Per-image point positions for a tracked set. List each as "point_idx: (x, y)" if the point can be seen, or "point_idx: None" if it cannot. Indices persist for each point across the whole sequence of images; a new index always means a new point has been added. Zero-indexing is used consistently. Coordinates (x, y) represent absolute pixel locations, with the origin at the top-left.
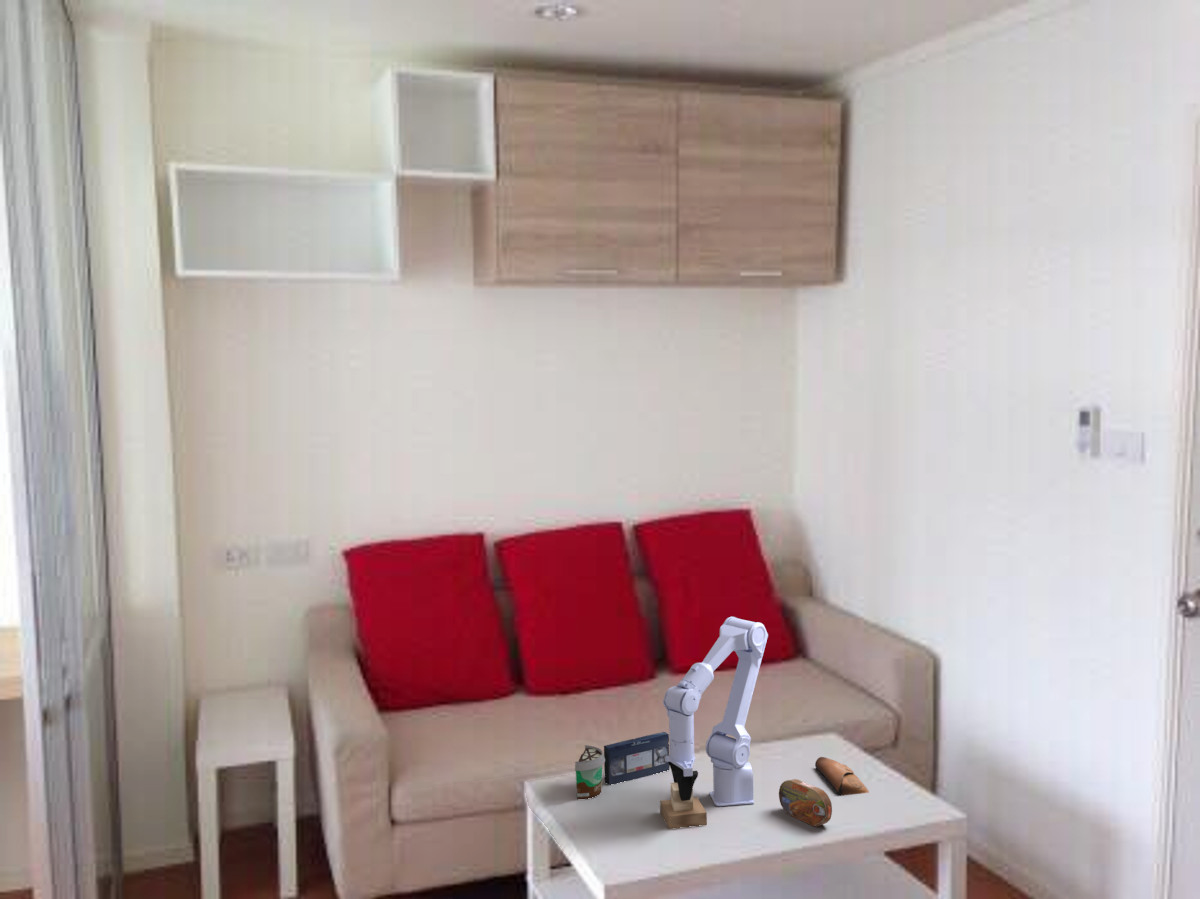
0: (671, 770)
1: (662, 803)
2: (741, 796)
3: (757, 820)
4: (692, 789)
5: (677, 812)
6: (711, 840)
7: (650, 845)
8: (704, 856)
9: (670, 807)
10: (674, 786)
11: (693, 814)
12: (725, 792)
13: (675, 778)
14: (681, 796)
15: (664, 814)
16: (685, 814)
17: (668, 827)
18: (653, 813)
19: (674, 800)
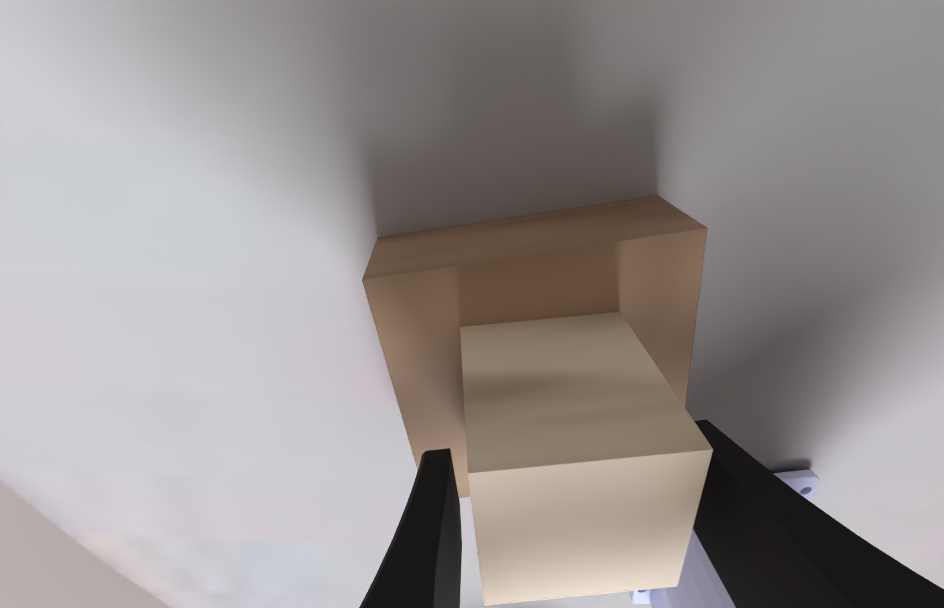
0: (908, 591)
1: (639, 245)
2: (662, 597)
3: (470, 593)
4: (485, 600)
5: (439, 348)
6: (241, 446)
7: (52, 71)
8: (21, 408)
9: (540, 304)
10: (589, 483)
11: (409, 436)
12: (681, 581)
13: (760, 525)
14: (413, 490)
15: (520, 235)
16: (400, 396)
17: (385, 239)
18: (664, 140)
19: (465, 391)
